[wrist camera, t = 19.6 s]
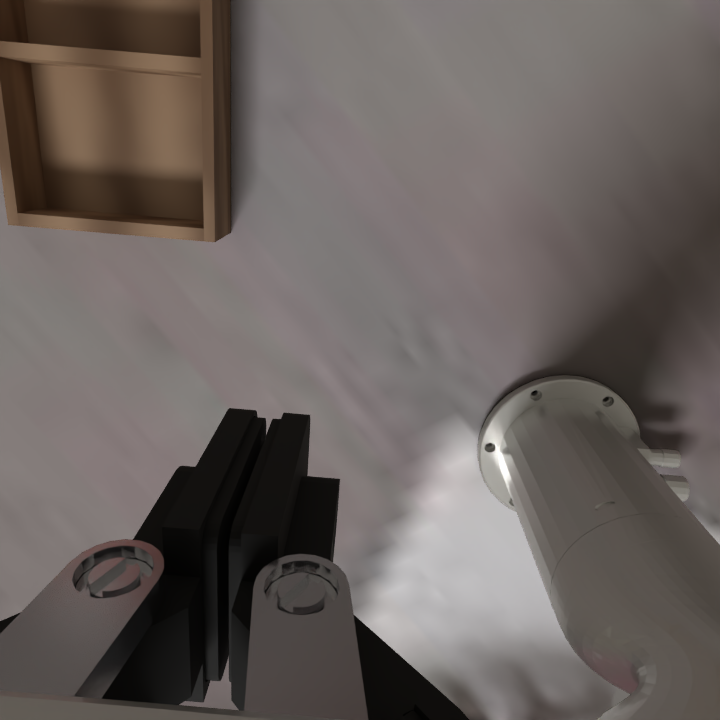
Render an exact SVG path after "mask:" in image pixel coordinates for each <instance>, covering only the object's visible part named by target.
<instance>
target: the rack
mask: <svg viewBox="0 0 720 720" xmlns="http://www.w3.org/2000/svg"><path fill="white" fill-rule="evenodd" d="M0 168H1V175H2V183H3V190H4V197H5V205H6V212H7V219H8V225H16V226H28V227H40V228H52V229H64V230H76V231H88V232H100V233H112V234H123V235H135V236H147V237H159V238H171V239H183V240H195V241H207V242H216V241H218V240H219V239H221V238H223V237H224V236H226V235H228V234H229V233H231V32H230V0H0Z"/></svg>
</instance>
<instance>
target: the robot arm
mask: <svg viewBox="0 0 720 720" xmlns="http://www.w3.org/2000/svg"><path fill="white" fill-rule="evenodd" d="M535 390H536V392H535V393H531V392H533V391H535ZM605 397H606V398H605ZM604 398H605V399H604ZM309 435H310V415H304V414H292V413H283V416H282V418H281V419H272V422H271V424H270V427H269V430H268V432H267V435H266V419H265V418H258V417H257V412H256V410H244V409H232V408H229V409H228V411H227V412H226V414H225V416H224V418H223V419H222V421H221V423H220V425H219V426H218V428H217V430H216V432H215V434H214V435H213V437H212V439H211V441H210V442H209V444H208V446H207V448H206V449H205V451H204V453H203V455H202V457H201V458H200V460H199V462H198V464H197V465H196V467H190V466H180V467H179V468H178V469H177V470H176V471H175V473H174V474H173V476H172V478H171V479H170V481H169V483H168V484H167V486H166V487H165V489H164V491H163V492H162V494H161V495H160V497H159V499H158V500H157V502H156V504H155V505H154V507H153V508H152V510H151V512H150V513H149V515H148V516H147V518H146V520H145V521H144V523H143V525H142V526H141V528H140V529H139V531H138V533H137V534H136V536H135V537H134V539H133V540H127V539H125V540H116V541H109V542H106V543H103V544H99V545H96V546H94V547H92V548H90V549H88V550H86V551H84V552H82V553H81V554H79V555H78V556H77V557H76V558H74V559H73V560H72V561H71V562H70V563H69V564H68V565H67V566H66V567H65V568H64V569H63V570H62V571H61V572H60V573H59V574H58V575H57V576H56V577H55V578H54V579H53V580H52V581H51V582H50V583H49V584H48V585H47V586H46V587H45V588H44V589H43V590H42V591H41V592H40V593H39V595H38V596H37V597H36V598H35V599H34V600H33V601H32V602H31V603H30V604H29V605H28V606H27V607H26V608H25V609H24V610H23V611H22V612H21V613H18V614H16V615H14V616H11V617H9V618H7V619H5V620H2V621H0V720H469V719H468V718H467V717H466V716H465V714H464V713H463V712H462V711H461V710H460V709H459V708H458V707H457V706H456V705H455V704H453V703H452V702H451V701H450V700H449V699H448V698H447V697H446V696H444V695H443V694H442V693H441V692H440V691H439V690H438V689H437V688H435V687H434V686H433V685H432V684H431V683H430V682H429V681H428V680H426V679H425V678H424V677H423V676H422V675H421V674H420V673H419V672H417V671H416V670H415V669H414V668H413V667H412V666H411V665H410V664H408V663H407V662H406V661H405V660H404V659H403V658H402V657H401V656H399V655H398V654H397V653H396V652H395V651H394V650H393V649H392V648H390V647H389V646H388V645H387V644H386V643H385V642H384V641H383V640H381V639H380V638H379V637H378V636H377V635H376V634H375V633H374V632H372V631H371V630H370V629H369V628H368V627H367V626H366V625H365V624H363V623H362V622H361V621H360V620H359V619H358V618H357V617H356V616H354V615H353V608H352V601H351V594H350V587H349V583H348V580H347V577H346V575H345V573H344V572H343V571H342V570H341V569H340V568H339V566H337V565H336V564H334V563H333V555H334V545H335V535H336V523H337V511H338V498H339V484H340V479H334V478H322V477H310V476H307V473H308V454H309ZM487 443H490V444H487ZM478 462H479V467H480V471H481V474H482V476H483V479H484V482H485V483H486V485H487V487H488V488H489V490H490V492H491V493H492V494H493V495H494V496H495V497H496V498H497V499H498V500H499V501H500V502H501V503H502V504H504V505H505V506H506V507H508V508H509V509H511V510H513V511H516V512H517V515H518V517H519V520H520V523H521V525H522V528H523V531H524V533H525V536H526V539H527V541H528V544H529V546H530V549H531V552H532V554H533V557H534V560H535V562H536V565H537V568H538V570H539V573H540V576H541V578H542V581H543V583H544V586H545V589H546V591H547V594H548V597H549V599H550V602H551V605H552V607H553V609H554V612H555V614H556V617H557V620H558V622H559V625H560V627H561V629H562V631H563V633H564V635H565V637H566V639H567V641H568V642H569V644H570V645H571V647H572V648H573V650H574V651H575V653H576V654H577V655H578V656H579V657H580V658H581V659H582V660H583V661H584V662H585V663H586V665H588V666H589V667H590V668H591V669H592V670H593V671H594V672H596V673H597V674H598V675H600V676H601V677H602V678H604V679H605V680H607V681H608V682H610V683H611V684H613V685H614V686H616V687H618V688H620V689H621V690H623V691H625V692H627V693H629V694H630V696H628V697H627V698H626V699H624V700H623V701H621V702H620V703H618V704H617V705H616V706H614V707H613V708H611V709H610V710H608V711H606V712H604V713H603V714H602V716H601V717H600V718H598V719H597V720H720V545H719V544H718V542H717V541H716V540H715V539H714V538H713V537H712V536H711V535H710V533H709V532H708V531H707V530H706V529H705V528H704V526H703V525H702V524H701V523H700V522H699V521H698V519H697V518H696V517H695V516H694V515H693V514H692V512H691V511H690V510H689V509H688V508H687V507H686V505H685V504H684V503H683V502H682V501H685V500H687V498H688V496H689V490H690V488H689V483H688V481H687V479H686V478H685V477H683V476H674V475H662V474H660V475H659V474H658V473H657V471H656V470H655V469H654V468H653V467H652V466H659V467H666V468H678V467H679V465H680V462H681V456H680V453H679V452H678V451H677V450H670V449H649V447H648V446H647V445H646V444H645V443H644V442H643V441H642V440H641V438H640V429H639V426H638V423H637V421H636V418H635V416H634V414H633V412H632V411H631V409H630V408H629V406H628V405H627V404H626V403H625V402H624V400H623V399H622V398H621V397H620V396H619V395H618V394H616V393H615V392H614V391H612V390H611V389H610V388H609V387H607V386H605V385H603V384H601V383H599V382H597V381H595V380H591V379H588V378H584V377H580V376H569V375H561V376H550V377H545V378H542V379H538V380H534V381H532V382H529V383H527V384H525V385H523V386H521V387H518V388H517V389H516V390H514V391H513V392H511V393H510V394H508V395H507V396H505V397H504V398H503V399H502V400H501V401H500V402H499V403H498V404H497V405H496V406H495V407H494V409H493V410H492V411H491V413H490V414H489V416H488V417H487V418H486V421H485V423H484V425H483V427H482V429H481V432H480V436H479V441H478ZM651 465H652V466H651ZM228 656H229V681H230V682H231V695H232V701H233V703H234V704H235V705H236V707H237V708H238V709H239V710H228V709H217V708H205V707H194V706H182V705H179V704H181V703H182V702H184V701H193V702H204V699H205V696H206V693H207V689H208V686H209V683H210V680H212V681H221V679H222V676H223V673H224V670H225V666H226V663H227V659H228Z"/></svg>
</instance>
